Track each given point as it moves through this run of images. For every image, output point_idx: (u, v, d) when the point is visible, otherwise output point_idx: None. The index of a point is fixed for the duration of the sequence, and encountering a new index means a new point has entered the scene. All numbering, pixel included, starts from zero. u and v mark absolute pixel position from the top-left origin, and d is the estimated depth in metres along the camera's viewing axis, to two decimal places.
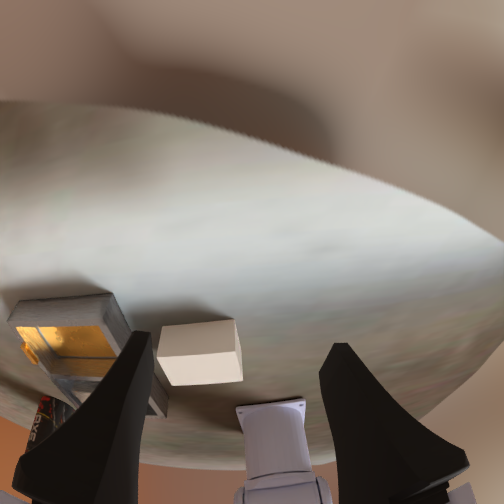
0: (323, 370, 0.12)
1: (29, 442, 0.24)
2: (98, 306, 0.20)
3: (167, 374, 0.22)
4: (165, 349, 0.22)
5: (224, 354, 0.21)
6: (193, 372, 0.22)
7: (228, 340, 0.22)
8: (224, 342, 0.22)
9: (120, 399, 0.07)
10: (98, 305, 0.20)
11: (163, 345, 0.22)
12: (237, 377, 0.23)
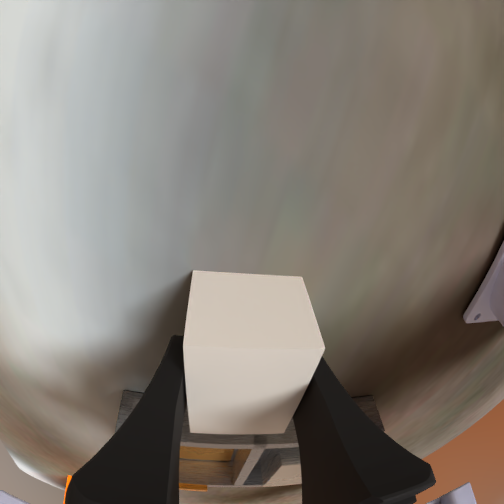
0: None
1: None
2: None
3: (244, 433, 0.11)
4: None
5: (192, 364, 0.08)
6: (247, 410, 0.10)
7: None
8: None
9: (169, 406, 0.08)
10: None
11: None
12: (303, 356, 0.08)
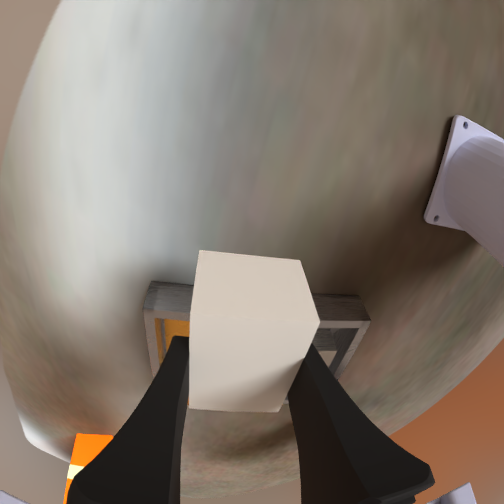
0: None
1: None
2: None
3: (241, 410, 0.12)
4: None
5: (197, 333, 0.09)
6: (245, 384, 0.11)
7: None
8: None
9: (171, 406, 0.08)
10: None
11: None
12: (299, 329, 0.09)
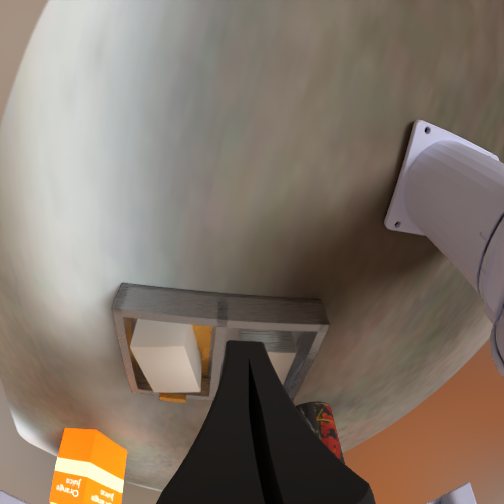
0: None
1: None
2: None
3: (179, 391, 0.22)
4: None
5: (136, 354, 0.20)
6: (171, 376, 0.21)
7: None
8: None
9: (241, 410, 0.08)
10: None
11: None
12: (176, 349, 0.20)
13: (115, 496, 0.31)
